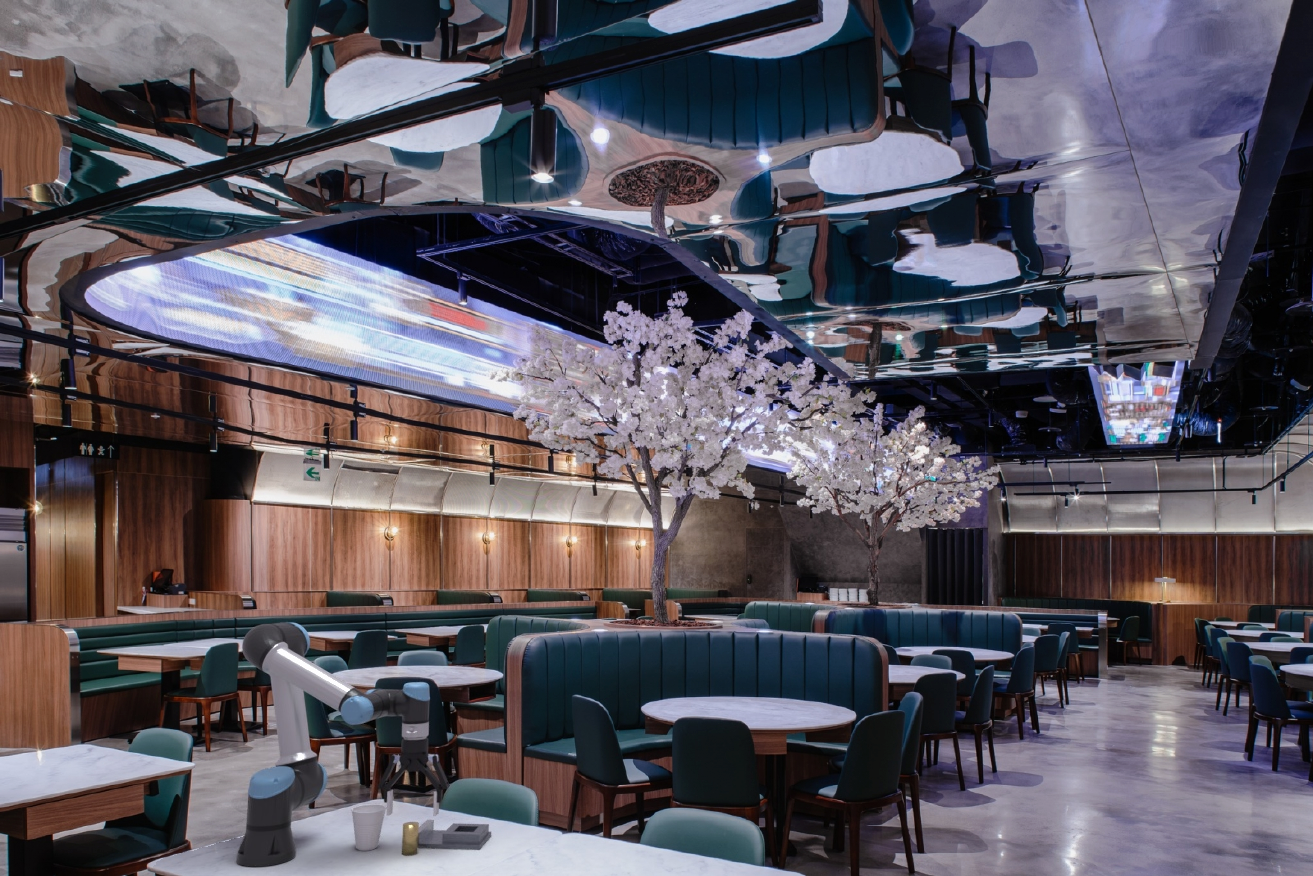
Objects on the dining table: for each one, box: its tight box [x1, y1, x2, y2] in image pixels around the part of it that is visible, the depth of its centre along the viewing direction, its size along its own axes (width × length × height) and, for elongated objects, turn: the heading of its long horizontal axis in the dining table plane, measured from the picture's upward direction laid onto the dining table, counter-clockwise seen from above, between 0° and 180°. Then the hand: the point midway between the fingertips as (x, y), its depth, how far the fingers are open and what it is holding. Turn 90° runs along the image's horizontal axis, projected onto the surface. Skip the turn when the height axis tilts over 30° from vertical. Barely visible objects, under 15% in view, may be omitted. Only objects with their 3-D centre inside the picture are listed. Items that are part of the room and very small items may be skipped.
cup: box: [351, 803, 387, 852], centre depth 260 cm, size 10×10×11 cm
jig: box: [418, 819, 492, 851], centre depth 266 cm, size 22×14×4 cm, turn 87°
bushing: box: [401, 821, 420, 857], centre depth 255 cm, size 4×4×8 cm
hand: (412, 814), depth 256 cm, fingers open, 13 cm apart
